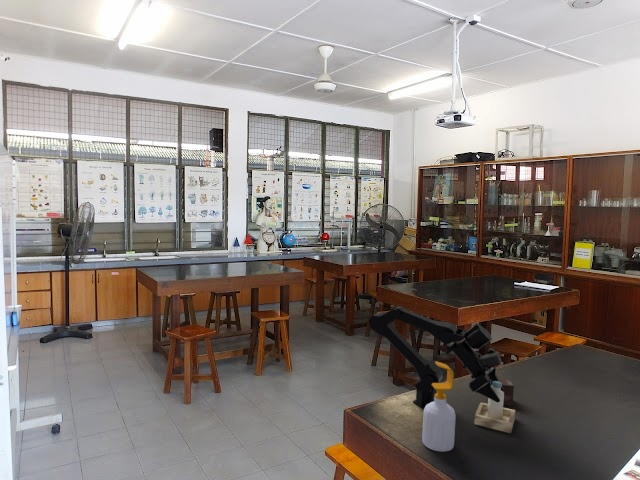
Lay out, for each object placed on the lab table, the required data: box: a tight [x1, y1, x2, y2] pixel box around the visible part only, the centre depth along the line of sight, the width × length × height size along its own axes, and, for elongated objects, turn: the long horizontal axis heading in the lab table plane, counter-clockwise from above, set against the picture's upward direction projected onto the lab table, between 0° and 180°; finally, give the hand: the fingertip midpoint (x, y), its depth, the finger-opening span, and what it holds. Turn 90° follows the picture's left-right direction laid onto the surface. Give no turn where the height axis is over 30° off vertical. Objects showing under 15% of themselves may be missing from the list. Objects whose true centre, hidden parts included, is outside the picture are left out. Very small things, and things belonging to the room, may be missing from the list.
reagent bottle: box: [487, 381, 504, 420], centre depth 147 cm, size 5×5×12 cm
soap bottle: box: [421, 360, 457, 453], centre depth 132 cm, size 9×9×25 cm
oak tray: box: [473, 402, 516, 434], centre depth 148 cm, size 11×11×3 cm
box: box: [498, 378, 515, 406], centre depth 163 cm, size 6×6×7 cm
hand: (501, 396), depth 146 cm, fingers open, 9 cm apart
